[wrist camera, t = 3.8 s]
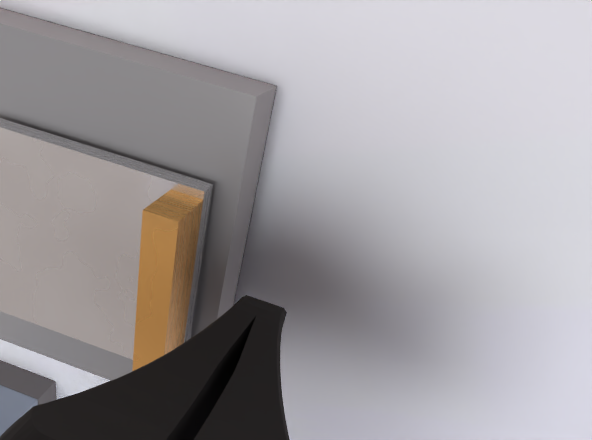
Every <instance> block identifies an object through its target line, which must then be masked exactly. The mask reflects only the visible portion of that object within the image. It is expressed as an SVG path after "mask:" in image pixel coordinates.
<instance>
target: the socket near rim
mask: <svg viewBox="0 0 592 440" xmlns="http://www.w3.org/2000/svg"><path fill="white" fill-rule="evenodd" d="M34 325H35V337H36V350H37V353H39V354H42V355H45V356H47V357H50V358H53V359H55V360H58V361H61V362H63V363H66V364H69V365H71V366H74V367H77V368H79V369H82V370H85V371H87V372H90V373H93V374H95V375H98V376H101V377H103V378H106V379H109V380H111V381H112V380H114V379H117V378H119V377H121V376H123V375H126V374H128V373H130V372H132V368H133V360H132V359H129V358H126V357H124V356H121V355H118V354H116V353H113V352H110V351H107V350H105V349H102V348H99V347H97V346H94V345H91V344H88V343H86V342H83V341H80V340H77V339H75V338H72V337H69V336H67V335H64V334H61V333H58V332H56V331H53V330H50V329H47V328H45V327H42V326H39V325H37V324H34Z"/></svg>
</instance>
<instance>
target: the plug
mask: <svg viewBox="0 0 592 440" xmlns="http://www.w3.org/2000/svg"><path fill="white" fill-rule="evenodd" d="M54 400H56V383H55V381H53V380H51V379H48V378H45V377H43V376H40V375H38V374H35V373H32V372H30V371H27V370H24V369H22V368H19V367H17V366H14V365H11V364H9V363H6V362H3V361H1V360H0V436H1V435H2V434H3V433H4V432H5V431H6V430H7V429H8V428H9V427H10V426H11V425H12V424H13V423H14V422H16V421H17V420H18V419H19V418H20V417H22V416H23V415H24V414H25V413H26V412H27V411H29V410H30V409H31V408H32V407H33V406H36V405H40V404H44V403H47V402H51V401H54Z"/></svg>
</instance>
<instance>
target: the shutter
mask: <svg viewBox="0 0 592 440" xmlns="http://www.w3.org/2000/svg"><path fill="white" fill-rule="evenodd" d="M212 188H213V184H210V183H207V182H204V181H200V180H197V179H194V178H191V177H188V176H184V175H181V174H178V173H175V172H172V171H168V170H165V169H162V168H159V167H156V166H152V165H149V164H146V163H143V162H140V161H136V160H133V159H130V158H127V157H124V156H120V155H117V154H114V153H111V152H108V151H104V150H101V149H98V148H95V147H92V146H88V145H85V144H82V143H79V142H76V141H73V140H69V139H66V138H63V137H60V136H57V135H53V134H50V133H47V132H44V131H41V130H37V129H34V128H31V127H28V126H25V125H21V124H18V123H15V122H12V121H9V120H5V119H2V118H0V311H1V312H4V313H7V314H9V315H12V316H15V317H17V318H20V319H23V320H26V321H28V322H31V323H34V324H37V325H39V326H42V327H45V328H47V329H50V330H53V331H56V332H58V333H61V334H64V335H67V336H69V337H72V338H75V339H77V340H80V341H83V342H86V343H88V344H91V345H94V346H97V347H99V348H102V349H105V350H107V351H110V352H113V353H116V354H118V355H121V356H124V357H126V358H129V359H132V360H133V368H132V371H134V370H136V369H138V368H140V367H142V366H144V365H147V364H149V363H150V362H152V361H154V360H156V359H158V358H160V357H162V356H163V355H165V354H167V353H168V352H170V351H172V350H173V349H175V348H177V347H178V346H180V345H181V344H183V343H184V342H186V341H187V340H189V339H190V338H191V332H192V325H193V318H194V311H195V304H196V297H197V291H198V284H199V277H200V270H201V263H202V256H203V249H204V243H205V236H206V229H207V222H208V215H209V208H210V201H211V195H212Z"/></svg>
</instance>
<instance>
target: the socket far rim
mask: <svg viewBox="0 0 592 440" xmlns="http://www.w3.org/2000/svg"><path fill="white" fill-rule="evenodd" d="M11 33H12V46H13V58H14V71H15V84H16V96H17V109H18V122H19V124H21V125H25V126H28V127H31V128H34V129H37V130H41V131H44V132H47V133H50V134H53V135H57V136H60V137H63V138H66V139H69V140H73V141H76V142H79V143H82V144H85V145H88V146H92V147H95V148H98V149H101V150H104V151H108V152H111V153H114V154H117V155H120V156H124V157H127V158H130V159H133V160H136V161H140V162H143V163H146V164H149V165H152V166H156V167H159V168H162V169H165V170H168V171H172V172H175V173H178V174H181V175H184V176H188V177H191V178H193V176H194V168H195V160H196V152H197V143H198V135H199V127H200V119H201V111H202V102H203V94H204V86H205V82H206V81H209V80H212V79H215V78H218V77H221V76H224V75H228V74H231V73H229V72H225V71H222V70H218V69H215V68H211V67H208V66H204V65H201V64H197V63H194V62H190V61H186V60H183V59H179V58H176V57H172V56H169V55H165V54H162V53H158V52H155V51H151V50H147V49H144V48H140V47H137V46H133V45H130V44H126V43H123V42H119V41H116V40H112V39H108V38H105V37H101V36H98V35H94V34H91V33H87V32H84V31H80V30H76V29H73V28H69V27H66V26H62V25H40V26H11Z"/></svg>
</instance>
